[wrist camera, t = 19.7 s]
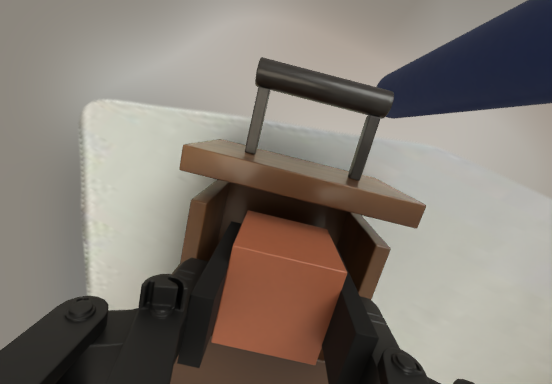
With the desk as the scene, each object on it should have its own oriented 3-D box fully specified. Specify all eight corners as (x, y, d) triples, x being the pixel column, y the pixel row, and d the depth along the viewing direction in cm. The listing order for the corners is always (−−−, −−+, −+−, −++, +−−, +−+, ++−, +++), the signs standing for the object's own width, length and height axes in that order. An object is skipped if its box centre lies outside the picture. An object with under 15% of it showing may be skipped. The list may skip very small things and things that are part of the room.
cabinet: (194, 243, 21) (136, 318, 13) (343, 279, 21) (382, 375, 13) (169, 380, 24) (110, 511, 16) (297, 409, 25) (305, 551, 16)
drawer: (233, 64, 17) (201, 23, 10) (400, 108, 17) (472, 95, 11) (189, 300, 21) (146, 378, 15) (322, 331, 22) (339, 421, 15)
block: (247, 209, 14) (232, 245, 10) (327, 228, 14) (348, 272, 10) (231, 281, 15) (210, 343, 11) (305, 298, 16) (315, 366, 11)
